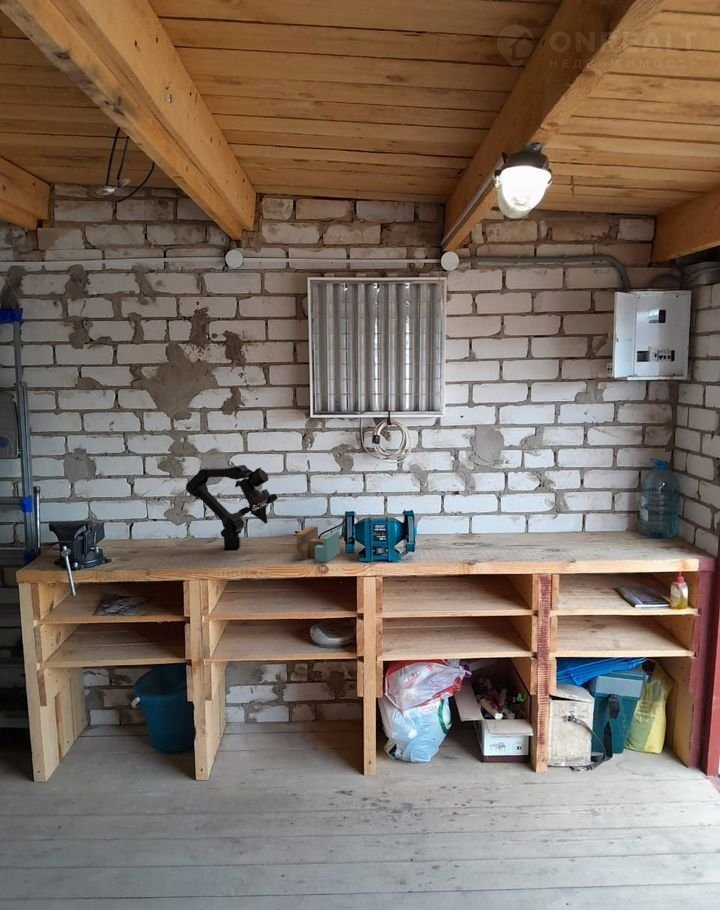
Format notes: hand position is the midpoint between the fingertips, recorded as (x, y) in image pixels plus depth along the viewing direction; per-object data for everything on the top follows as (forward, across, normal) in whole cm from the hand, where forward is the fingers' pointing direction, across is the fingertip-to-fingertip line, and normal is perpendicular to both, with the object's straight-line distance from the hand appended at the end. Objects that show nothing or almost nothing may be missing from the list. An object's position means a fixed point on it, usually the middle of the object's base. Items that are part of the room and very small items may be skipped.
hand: (266, 523), depth 277 cm
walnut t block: (+23, +8, -11) cm, 27 cm away
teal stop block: (+25, +11, -15) cm, 31 cm away
